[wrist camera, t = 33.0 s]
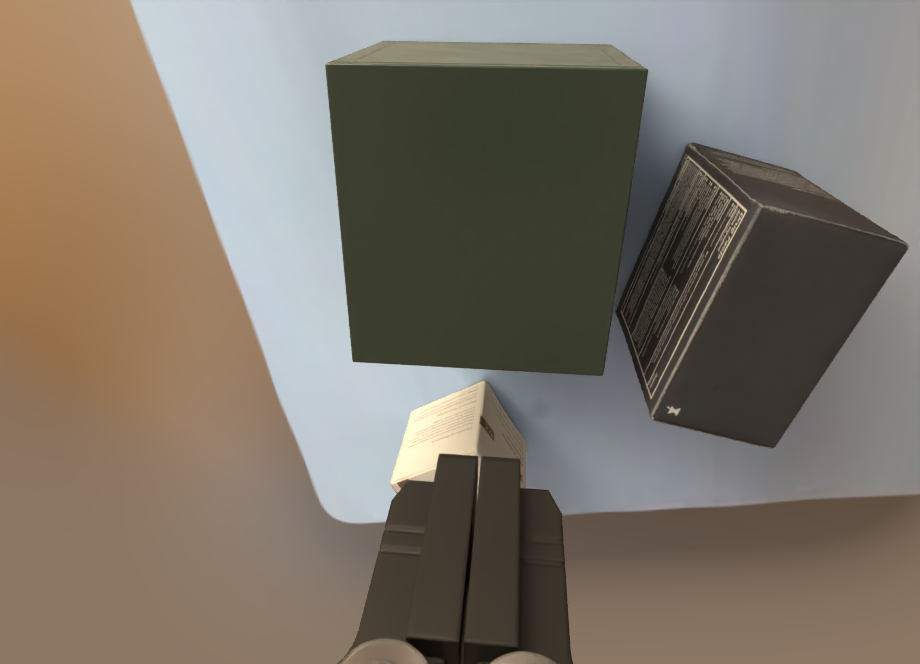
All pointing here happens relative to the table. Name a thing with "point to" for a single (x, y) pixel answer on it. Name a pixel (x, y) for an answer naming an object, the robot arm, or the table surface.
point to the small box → (746, 294)
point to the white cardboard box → (457, 434)
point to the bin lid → (483, 210)
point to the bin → (492, 54)
